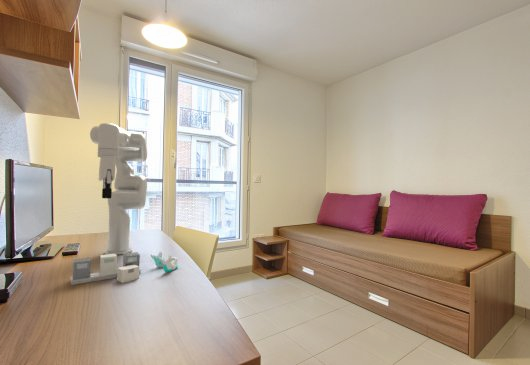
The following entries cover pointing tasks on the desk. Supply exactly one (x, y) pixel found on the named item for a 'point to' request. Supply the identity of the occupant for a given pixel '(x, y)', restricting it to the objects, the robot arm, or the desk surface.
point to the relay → (128, 273)
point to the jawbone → (165, 262)
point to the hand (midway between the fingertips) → (106, 198)
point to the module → (108, 264)
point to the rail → (84, 268)
